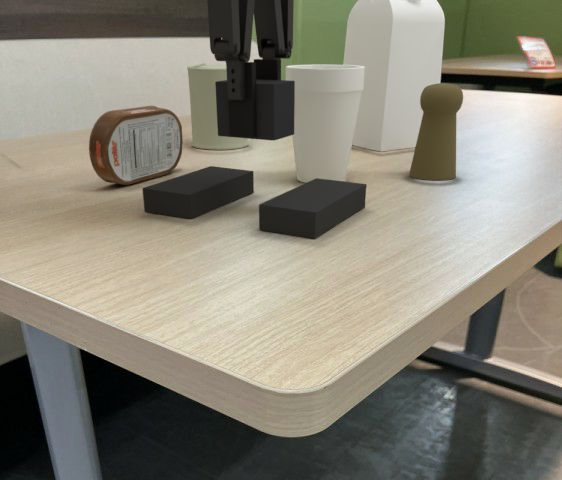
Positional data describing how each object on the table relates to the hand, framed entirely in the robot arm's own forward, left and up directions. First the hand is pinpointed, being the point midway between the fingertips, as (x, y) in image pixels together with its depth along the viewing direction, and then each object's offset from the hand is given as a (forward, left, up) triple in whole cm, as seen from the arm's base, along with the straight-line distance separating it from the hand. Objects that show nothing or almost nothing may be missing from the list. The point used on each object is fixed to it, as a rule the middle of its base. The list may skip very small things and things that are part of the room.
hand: (255, 131), depth 63 cm
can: (-25, +32, -8) cm, 41 cm away
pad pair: (0, 0, -8) cm, 8 cm away
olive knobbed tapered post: (+12, +26, -8) cm, 30 cm away
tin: (-20, +6, -8) cm, 22 cm away
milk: (-2, +47, -8) cm, 48 cm away
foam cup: (0, +17, -8) cm, 19 cm away
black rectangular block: (0, 0, 0) cm, 0 cm away
